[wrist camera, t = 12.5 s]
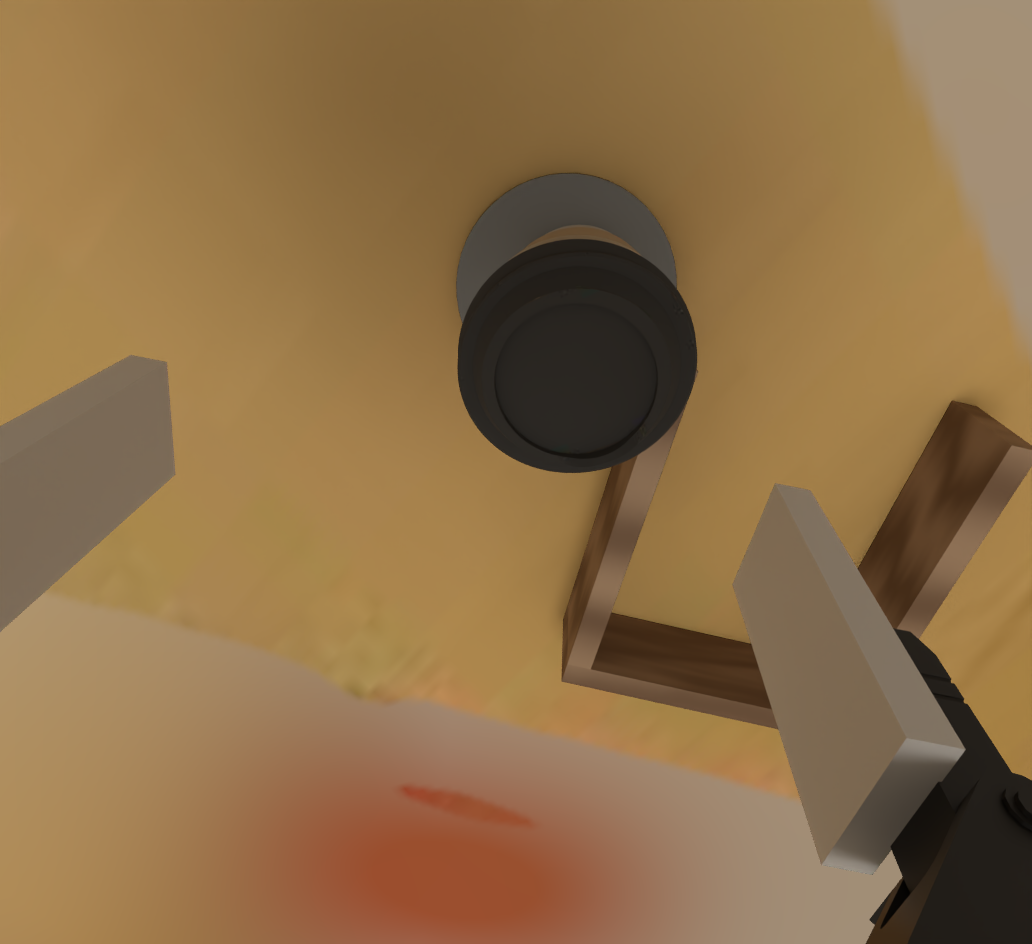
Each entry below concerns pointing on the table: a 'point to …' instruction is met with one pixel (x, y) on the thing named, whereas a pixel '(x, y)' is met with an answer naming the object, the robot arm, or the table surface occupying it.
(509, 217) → the coaster
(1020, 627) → the table surface
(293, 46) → the table surface
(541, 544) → the table surface
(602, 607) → the brown rectangular open frame
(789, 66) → the table surface
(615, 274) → the coffee cup
